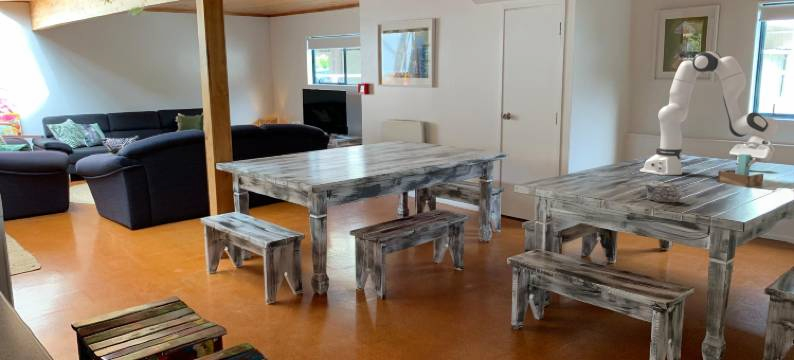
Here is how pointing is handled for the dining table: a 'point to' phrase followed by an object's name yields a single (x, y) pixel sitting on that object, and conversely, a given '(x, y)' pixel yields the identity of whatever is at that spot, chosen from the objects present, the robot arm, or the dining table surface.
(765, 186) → the coaster
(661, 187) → the rock
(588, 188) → the dining table surface
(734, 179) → the crate
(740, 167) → the block
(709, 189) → the dining table surface
